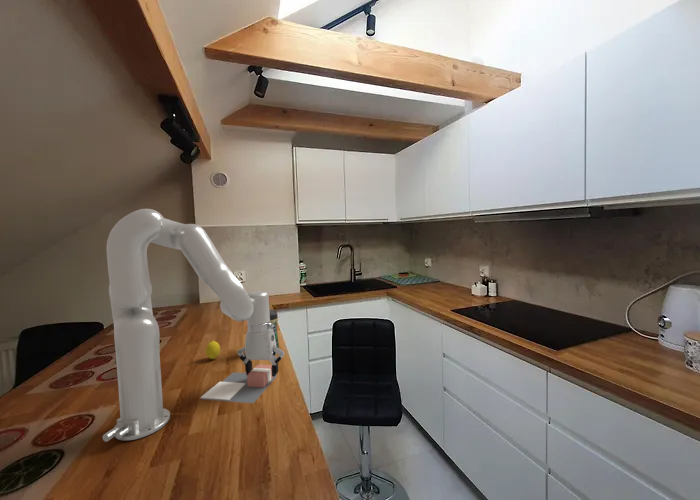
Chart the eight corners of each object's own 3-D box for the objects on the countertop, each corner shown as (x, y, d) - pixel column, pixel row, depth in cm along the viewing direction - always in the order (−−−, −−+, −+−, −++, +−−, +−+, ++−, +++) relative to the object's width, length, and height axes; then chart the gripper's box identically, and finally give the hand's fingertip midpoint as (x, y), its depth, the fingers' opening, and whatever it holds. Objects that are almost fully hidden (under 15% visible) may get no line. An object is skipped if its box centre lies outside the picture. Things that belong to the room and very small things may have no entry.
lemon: (204, 359, 123) (203, 341, 122) (217, 355, 127) (216, 337, 126) (209, 363, 119) (208, 344, 119) (222, 358, 123) (221, 340, 123)
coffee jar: (262, 357, 123) (260, 314, 122) (253, 352, 129) (251, 311, 128) (282, 351, 130) (280, 310, 129) (273, 346, 135) (271, 307, 135)
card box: (264, 387, 97) (263, 375, 97) (247, 386, 99) (246, 374, 98) (274, 376, 105) (273, 365, 105) (258, 375, 106) (258, 364, 106)
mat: (253, 404, 89) (253, 403, 88) (201, 400, 92) (200, 399, 92) (277, 376, 106) (277, 374, 106) (233, 373, 109) (233, 372, 109)
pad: (229, 400, 90) (229, 399, 90) (200, 398, 92) (200, 397, 92) (245, 384, 100) (245, 383, 100) (219, 382, 102) (219, 381, 102)
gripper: (286, 323, 103) (289, 370, 104) (242, 323, 106) (245, 368, 107) (278, 330, 96) (280, 380, 97) (230, 330, 99) (233, 378, 100)
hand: (262, 374), depth 102 cm, fingers open, 9 cm apart
